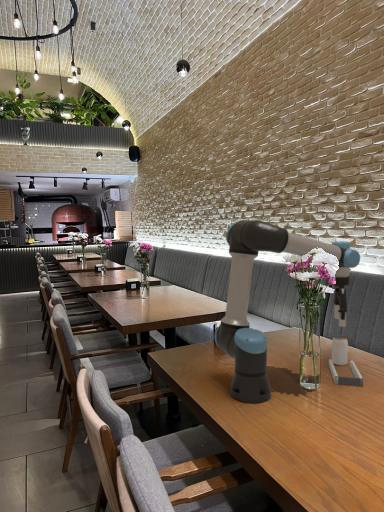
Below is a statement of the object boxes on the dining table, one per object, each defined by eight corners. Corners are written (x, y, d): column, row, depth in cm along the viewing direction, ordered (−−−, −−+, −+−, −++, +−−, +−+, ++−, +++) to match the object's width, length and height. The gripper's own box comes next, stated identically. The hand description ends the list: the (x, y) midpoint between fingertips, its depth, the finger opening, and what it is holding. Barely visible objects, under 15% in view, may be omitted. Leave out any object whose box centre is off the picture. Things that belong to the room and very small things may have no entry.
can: (349, 366, 168) (349, 339, 167) (334, 365, 168) (334, 339, 167) (344, 360, 174) (345, 335, 173) (330, 360, 175) (330, 334, 174)
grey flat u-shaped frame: (362, 386, 147) (363, 378, 147) (335, 384, 149) (335, 376, 149) (352, 367, 166) (352, 360, 166) (328, 365, 169) (328, 359, 168)
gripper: (355, 280, 157) (354, 330, 159) (344, 272, 181) (343, 316, 183) (335, 280, 159) (335, 329, 160) (328, 272, 183) (327, 315, 185)
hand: (339, 322), depth 172 cm, fingers open, 13 cm apart
